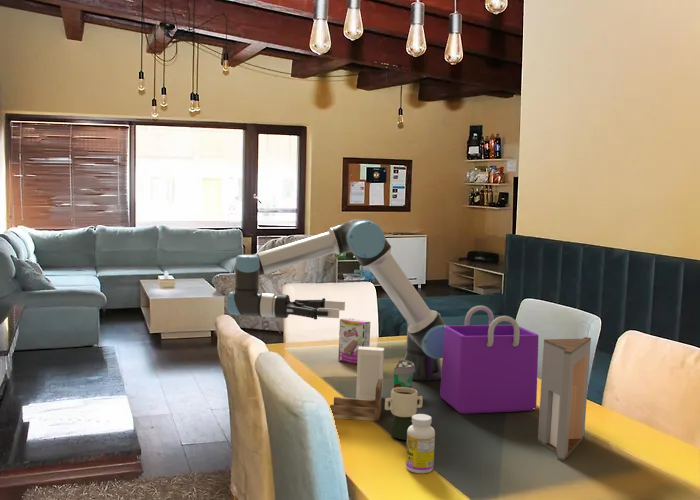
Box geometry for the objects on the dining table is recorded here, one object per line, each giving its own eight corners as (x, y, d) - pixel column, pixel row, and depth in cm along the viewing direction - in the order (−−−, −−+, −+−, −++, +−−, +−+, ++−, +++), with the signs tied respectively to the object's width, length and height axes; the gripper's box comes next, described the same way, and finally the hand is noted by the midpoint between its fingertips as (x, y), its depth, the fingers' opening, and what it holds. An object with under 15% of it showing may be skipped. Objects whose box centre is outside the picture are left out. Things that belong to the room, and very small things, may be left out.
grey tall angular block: (563, 461, 176) (570, 351, 173) (526, 452, 181) (532, 346, 178) (584, 437, 193) (590, 337, 191) (549, 429, 199) (555, 332, 196)
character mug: (415, 431, 193) (417, 385, 192) (426, 440, 186) (428, 393, 185) (378, 434, 190) (380, 387, 188) (388, 444, 183) (390, 395, 182)
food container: (412, 400, 221) (413, 369, 220) (392, 398, 222) (394, 367, 221) (416, 389, 233) (417, 360, 232) (397, 387, 234) (399, 358, 233)
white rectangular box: (382, 396, 224) (384, 347, 222) (381, 400, 219) (383, 350, 218) (357, 395, 225) (359, 346, 223) (355, 399, 220) (357, 349, 219)
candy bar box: (337, 361, 267) (339, 318, 265) (344, 358, 271) (346, 317, 269) (362, 366, 261) (364, 322, 259) (369, 363, 265) (371, 320, 263)
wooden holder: (380, 411, 209) (382, 378, 208) (378, 421, 200) (380, 387, 199) (334, 408, 211) (335, 375, 210) (329, 417, 202) (330, 383, 201)
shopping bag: (501, 390, 235) (506, 302, 233) (545, 410, 216) (551, 314, 213) (430, 398, 224) (434, 306, 221) (469, 420, 204) (474, 319, 201)
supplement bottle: (403, 463, 171) (405, 412, 169) (430, 463, 171) (432, 412, 170) (407, 474, 164) (410, 421, 163) (435, 474, 165) (438, 421, 163)
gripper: (283, 310, 236) (346, 314, 233) (266, 325, 211) (336, 329, 208) (284, 288, 235) (347, 292, 232) (267, 300, 210) (337, 304, 208)
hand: (342, 309), depth 220 cm, fingers open, 13 cm apart
